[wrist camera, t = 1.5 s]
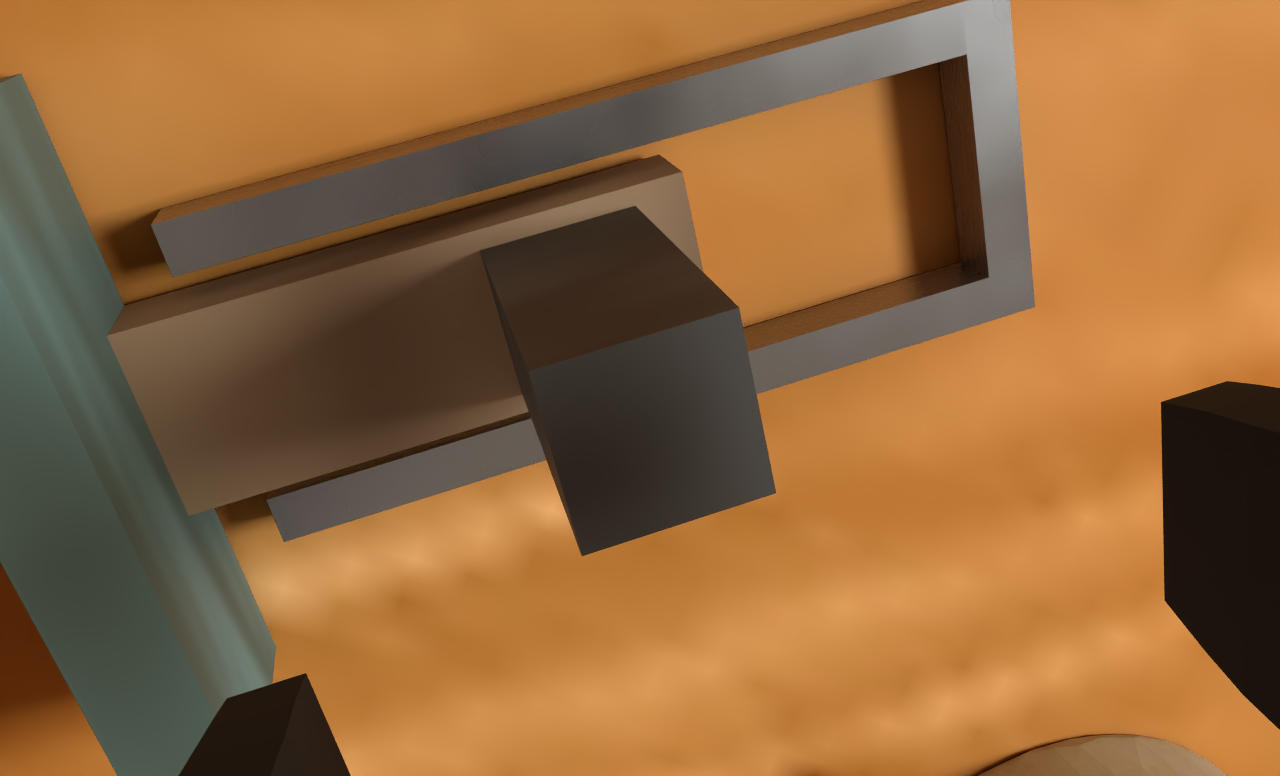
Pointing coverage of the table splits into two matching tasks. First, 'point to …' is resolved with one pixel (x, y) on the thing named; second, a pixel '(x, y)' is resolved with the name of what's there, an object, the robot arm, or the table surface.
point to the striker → (331, 407)
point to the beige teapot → (1108, 759)
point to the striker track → (641, 114)
